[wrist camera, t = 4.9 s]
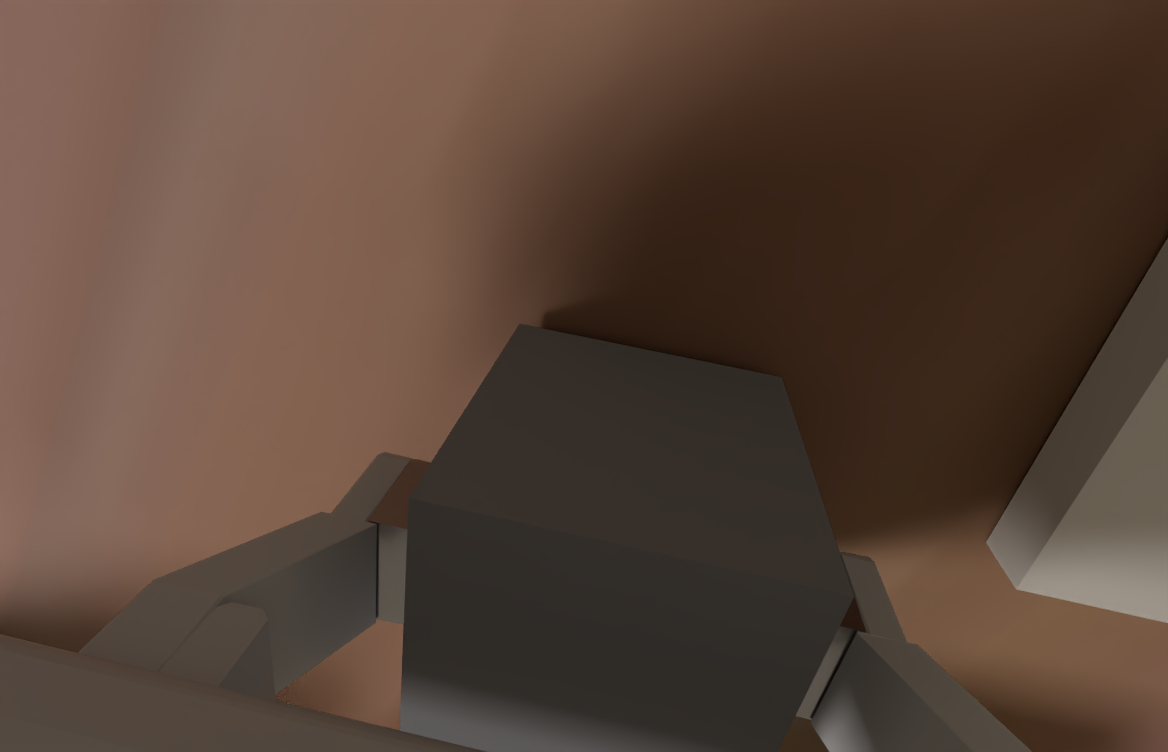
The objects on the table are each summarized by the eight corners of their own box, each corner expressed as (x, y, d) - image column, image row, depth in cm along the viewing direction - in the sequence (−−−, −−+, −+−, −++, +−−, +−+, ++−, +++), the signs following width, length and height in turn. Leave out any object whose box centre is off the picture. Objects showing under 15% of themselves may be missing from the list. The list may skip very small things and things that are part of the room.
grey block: (519, 323, 11) (408, 498, 6) (781, 377, 11) (853, 596, 6) (495, 526, 13) (399, 763, 9) (714, 574, 13) (731, 845, 8)
